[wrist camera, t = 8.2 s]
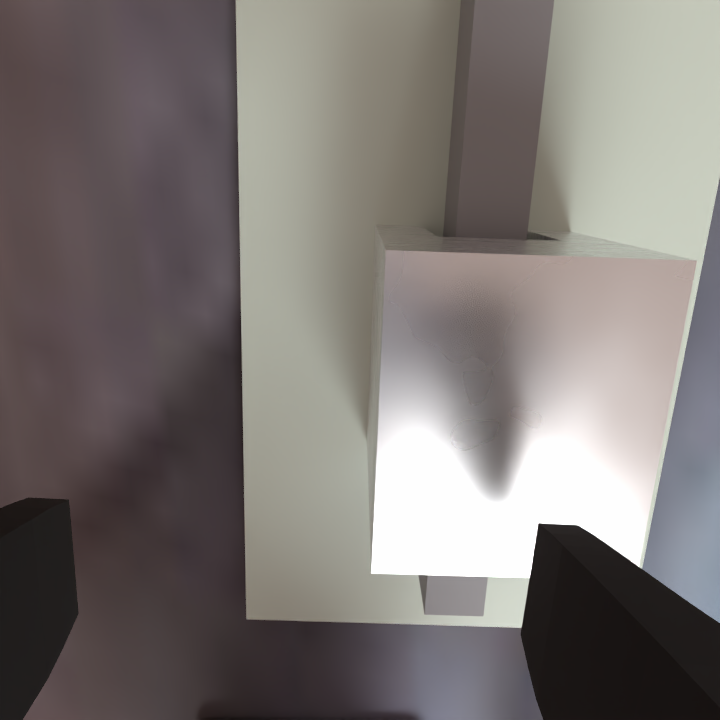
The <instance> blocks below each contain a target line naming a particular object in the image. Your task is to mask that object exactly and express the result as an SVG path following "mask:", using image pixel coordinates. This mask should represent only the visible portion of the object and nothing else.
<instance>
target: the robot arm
mask: <svg viewBox="0 0 720 720" xmlns="http://www.w3.org/2000/svg"><path fill="white" fill-rule="evenodd" d="M77 616H78V603H77V591H76V579H75V567H74V555H73V543H72V531H71V519H70V508H69V500H65V499H45V498H26V499H23V500H21V501H18V502H15V503H12V504H10V505H7V506H5V507H2V508H0V720H23V718H24V716H25V715H26V713H27V712H28V710H29V708H30V707H31V705H32V704H33V702H34V700H35V699H36V697H37V696H38V694H39V692H40V691H41V689H42V687H43V686H44V684H45V682H46V681H47V679H48V677H49V675H50V673H51V671H52V669H53V667H54V665H55V663H56V661H57V659H58V657H59V655H60V653H61V651H62V649H63V647H64V644H65V642H66V640H67V638H68V636H69V633H70V631H71V629H72V627H73V624H74V622H75V620H76V618H77ZM521 638H522V642H523V647H524V651H525V655H526V660H527V664H528V669H529V673H530V677H531V681H532V685H533V688H534V692H535V696H536V700H537V703H538V706H539V708H540V711H541V714H542V717H543V720H720V623H718V622H717V621H715V620H714V619H712V618H711V617H710V616H708V615H707V614H705V613H704V612H702V611H701V610H699V609H698V608H696V607H695V606H693V605H692V604H690V603H689V602H688V601H686V600H685V599H683V598H682V597H680V596H679V595H678V594H676V593H675V592H673V591H672V590H671V589H669V588H668V587H666V586H665V585H663V584H662V583H661V582H659V581H658V580H656V579H655V578H654V577H652V576H651V575H649V574H648V573H647V572H645V571H644V570H643V569H641V568H640V567H638V566H637V565H636V564H634V563H633V562H631V561H630V560H629V559H627V558H626V557H624V556H623V555H622V554H620V553H619V552H618V551H616V550H615V549H613V548H612V547H610V546H609V545H608V544H606V543H605V542H603V541H602V540H600V539H599V538H597V537H596V536H594V535H593V534H591V533H590V532H588V531H587V530H585V529H583V528H582V527H580V526H578V525H565V524H545V523H538V528H537V534H536V540H535V547H534V553H533V559H532V566H531V572H530V578H529V585H528V591H527V597H526V604H525V610H524V616H523V623H522V629H521Z"/></svg>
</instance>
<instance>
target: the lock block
mask: <svg viewBox="0 0 720 720" xmlns="http://www.w3.org/2000/svg"><path fill="white" fill-rule="evenodd" d="M696 264H697V260H692V259H688V258H684V257H679V256H675V255H671V254H666V253H662V252H658V251H653V250H649V249H645V248H640V247H636V246H632V245H627V244H623V243H619V242H614V241H610V240H606V239H601V238H597V237H592V236H588V235H584V234H579V233H575V232H571V231H542V230H528V233H527V240H525V239H496V238H466V237H437V236H436V235H434V234H433V233H431V232H430V231H428V230H427V229H425V228H424V227H423V226H395V225H375V248H374V273H373V298H372V323H371V348H370V374H369V399H368V424H367V462H368V491H369V520H370V548H371V573H376V574H413V575H451V576H488V577H526V578H530V572H531V566H532V559H533V553H534V547H535V540H536V534H537V528H538V523H545V524H565V525H578V526H580V527H582V528H583V529H585V530H587V531H588V532H590V533H591V534H593V535H594V536H596V537H597V538H599V539H600V540H602V541H603V542H605V543H606V544H608V545H609V546H610V547H612V548H613V549H615V550H616V551H618V552H619V553H620V554H622V555H623V556H624V557H626V558H627V559H629V560H630V561H631V562H633V563H634V564H636V565H637V566H638V567H639V564H640V558H641V553H642V548H643V542H644V537H645V532H646V527H647V521H648V516H649V511H650V506H651V500H652V495H653V490H654V485H655V479H656V474H657V469H658V464H659V458H660V453H661V448H662V443H663V437H664V432H665V427H666V422H667V416H668V411H669V406H670V400H671V395H672V390H673V385H674V379H675V374H676V369H677V364H678V358H679V353H680V348H681V343H682V337H683V332H684V327H685V322H686V316H687V311H688V306H689V301H690V295H691V290H692V285H693V280H694V274H695V269H696Z"/></svg>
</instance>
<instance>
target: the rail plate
mask: <svg viewBox="0 0 720 720" xmlns="http://www.w3.org/2000/svg"><path fill="white" fill-rule="evenodd" d="M236 44H237V103H238V161H239V219H240V278H241V336H242V395H243V453H244V512H245V570H246V619H251V620H284V621H318V622H351V623H384V624H417V625H450V626H484V627H517V628H522V623H523V616H524V610H525V604H526V597H527V591H528V585H529V578H526V577H488V576H451V575H413V574H376V573H371V548H370V520H369V491H368V462H367V424H368V399H369V374H370V348H371V323H372V298H373V273H374V248H375V225H395V226H423V227H424V228H425V229H427V230H428V231H430V232H431V233H433V234H434V235H436V236H437V237H466V238H496V239H525V240H527V233H528V230H542V231H571V232H575V233H579V234H584V235H588V236H592V237H597V238H601V239H606V240H610V241H614V242H619V243H623V244H627V245H632V246H636V247H640V248H645V249H649V250H653V251H658V252H662V253H666V254H671V255H675V256H679V257H684V258H688V259H692V260H697V264H696V269H695V274H694V280H693V285H692V290H691V295H690V301H689V306H688V311H687V316H686V322H685V327H684V332H683V337H682V343H681V348H680V353H679V358H678V364H677V369H676V374H675V379H674V385H673V390H672V395H671V400H670V406H669V411H668V416H667V422H666V427H665V432H664V437H663V443H662V448H661V453H660V458H659V464H658V469H657V474H656V479H655V485H654V490H653V495H652V500H651V506H650V511H649V516H648V521H647V527H646V532H645V537H644V542H643V548H642V553H641V558H640V564H639V567H640V568H641V569H642V566H643V561H644V556H645V551H646V546H647V541H648V536H649V531H650V526H651V521H652V515H653V510H654V505H655V500H656V495H657V490H658V485H659V480H660V475H661V470H662V465H663V460H664V455H665V450H666V445H667V440H668V435H669V430H670V425H671V420H672V415H673V410H674V405H675V399H676V394H677V389H678V384H679V379H680V374H681V369H682V364H683V359H684V354H685V349H686V344H687V339H688V334H689V329H690V324H691V319H692V314H693V309H694V304H695V299H696V294H697V289H698V284H699V278H700V273H701V268H702V263H703V258H704V253H705V248H706V243H707V238H708V233H709V228H710V223H711V218H712V213H713V208H714V203H715V198H716V193H717V188H718V183H719V178H720V0H236Z"/></svg>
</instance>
